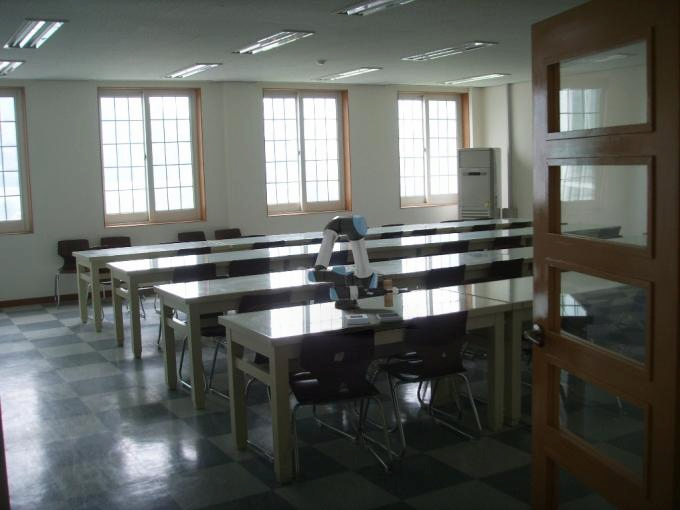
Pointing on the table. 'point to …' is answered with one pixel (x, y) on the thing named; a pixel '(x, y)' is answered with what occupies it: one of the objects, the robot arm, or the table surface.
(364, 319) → the socket block
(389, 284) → the dowel
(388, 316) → the tray
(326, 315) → the table surface
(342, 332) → the table surface
